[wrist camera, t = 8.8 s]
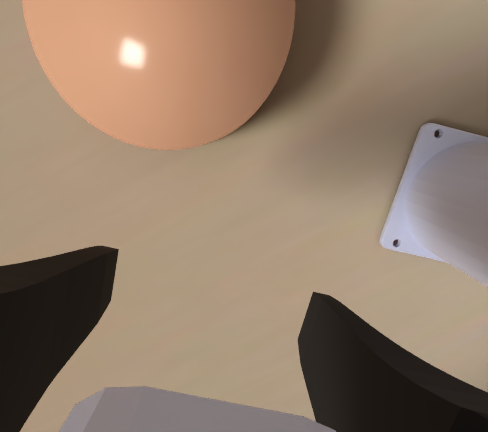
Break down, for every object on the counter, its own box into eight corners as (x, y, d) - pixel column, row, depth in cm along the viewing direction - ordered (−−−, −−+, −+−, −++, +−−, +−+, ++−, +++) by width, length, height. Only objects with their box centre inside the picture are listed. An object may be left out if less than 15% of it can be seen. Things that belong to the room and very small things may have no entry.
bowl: (309, -54, 17) (329, -110, 13) (254, 167, 20) (257, 175, 16) (82, -122, 16) (32, -203, 12) (59, 119, 19) (13, 115, 15)
